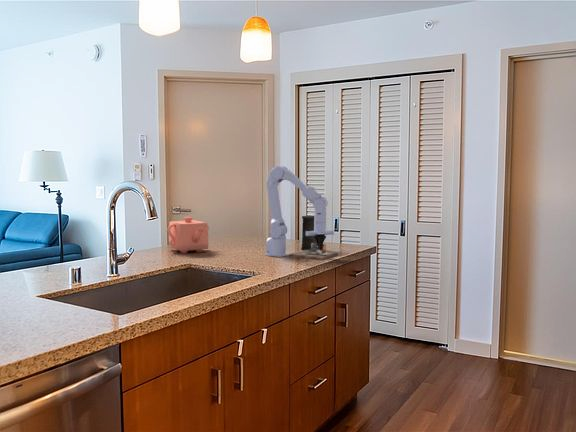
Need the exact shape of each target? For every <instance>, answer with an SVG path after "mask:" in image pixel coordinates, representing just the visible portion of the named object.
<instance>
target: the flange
mask: <svg viewBox="0 0 576 432" xmlns="http://www.w3.org/2000/svg"><path fill="white" fill-rule="evenodd" d="M326 252H327V244H326V243H323V245H322V250H316V251H315V252H314V251H311V250H306V253H307V254H320V255H327V253H326Z"/></svg>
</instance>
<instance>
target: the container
mask: <svg viewBox="0 0 576 432" xmlns="http://www.w3.org/2000/svg"><path fill="white" fill-rule="evenodd" d="M301 219H302V226H301V227H302V229H301V231H302V232H301V233H302V234H301V236H302V238H301V247H300V249H301V250H300V251H304V250H311V243H316V250H318V245H317V242H316V240H315V238H314V236H306V232H307V231H314V215H302V217H301Z"/></svg>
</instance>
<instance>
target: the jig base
mask: <svg viewBox="0 0 576 432" xmlns="http://www.w3.org/2000/svg"><path fill="white" fill-rule="evenodd" d="M311 251H314V252H315V251H316V243H311ZM326 253H327V255H320V254H307V253H306V250H299V251H297V252H293V253H288V254H289V255H288V257H289V258H296V259H297V258H298V259H306V260H317V261H323V260H327V259H329V258H333V257H336V256H338V255H339V252H335V251H326Z"/></svg>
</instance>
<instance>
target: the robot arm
mask: <svg viewBox="0 0 576 432" xmlns="http://www.w3.org/2000/svg"><path fill="white" fill-rule="evenodd" d="M268 174H269V175H268V177H267V180H266V184H265V185H266V191H267V196H268V203H269V209H270V217H271V219H270V220H271V221H270V223H269V224H270V229H269V234H270V236H269V237H268V238H267V239H266V242H265V254H264V256H269V257H277V258H282V257H286V256H289V254H290V253H286V251H287V250H286V249H287V248H286V247H287V243H286V242H287V239H286V238H287V237H286V235H287V233H288V227H287V225H286V223H285V220H284V218H283V216H282V215H283V214H282V208H281V202H280V195H279V188H278V187H279V185H280V184H281V183H282V182H283V181H288V182H290V183H291V184H292V185H294V186H295V187H296V188H298V189H299V190H300V191H301V192H302V193H301V194H302V196H303V197H304V198H305V199H306V200H307V201H308V202H310V203H311V204H312V207H314V213H313V214H314V215H313V216H314V231H307V232H306V236H314V238H315V240H316V242H317V245H318V246H317V247H318V250H322V245H323V244H324V242H325V240H326V239H327V236H331V235H332V236H334V235H335V230H327V207H328V204H329V202H328V200H327V198H326V197H325V196H323V195H322V194H321V193H319V192H317V191H316V189H315V187H314V186H311V185H306V184H305V183H304V182H303V181H302V180H301V179H300V178H299V177H298V176H297V175H296V174H295V173H294V172H293V171H291V170H290V169H288V168H287V166H273V167H272V169H270V171H269V173H268Z"/></svg>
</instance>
